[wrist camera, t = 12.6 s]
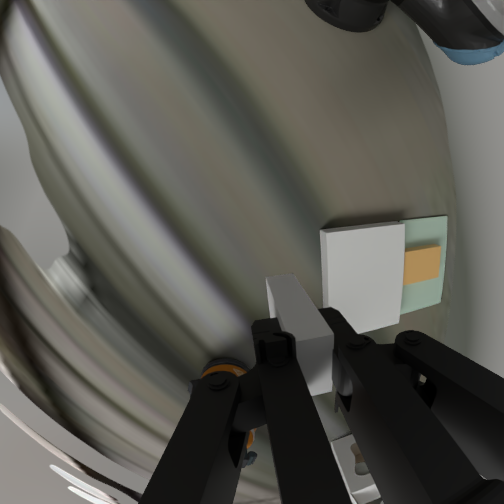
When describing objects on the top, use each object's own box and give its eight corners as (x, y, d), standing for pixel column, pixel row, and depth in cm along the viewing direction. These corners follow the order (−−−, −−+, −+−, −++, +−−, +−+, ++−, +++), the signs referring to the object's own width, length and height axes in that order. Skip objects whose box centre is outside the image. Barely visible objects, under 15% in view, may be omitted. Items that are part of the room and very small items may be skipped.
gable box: (333, 462, 58) (360, 538, 31) (329, 441, 55) (362, 528, 28) (402, 433, 59) (442, 498, 31) (406, 408, 55) (456, 480, 28)
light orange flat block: (396, 281, 45) (402, 285, 43) (398, 249, 43) (404, 252, 41) (432, 273, 45) (438, 277, 43) (434, 243, 44) (441, 246, 42)
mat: (399, 220, 42) (400, 220, 42) (445, 215, 43) (447, 216, 43) (395, 314, 47) (396, 315, 46) (439, 301, 47) (440, 302, 47)
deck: (319, 229, 42) (326, 233, 39) (395, 221, 42) (404, 223, 39) (323, 331, 46) (328, 340, 43) (391, 315, 47) (398, 322, 44)
